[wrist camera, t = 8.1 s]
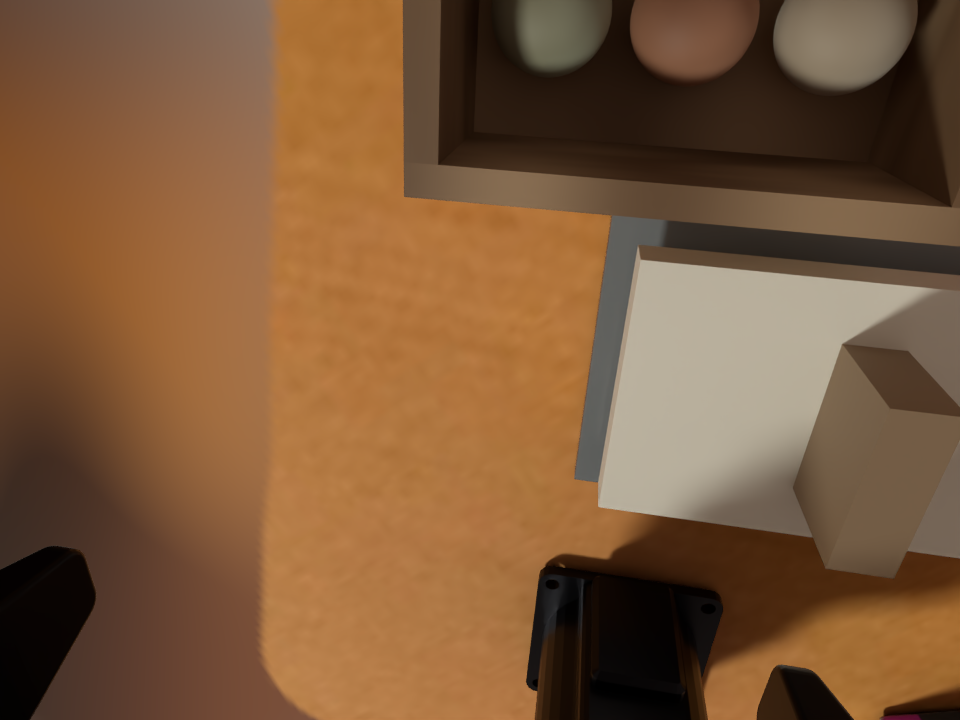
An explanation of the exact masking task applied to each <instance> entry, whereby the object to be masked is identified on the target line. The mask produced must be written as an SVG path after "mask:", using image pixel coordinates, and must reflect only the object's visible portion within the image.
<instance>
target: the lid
mask: <svg viewBox="0 0 960 720" xmlns="http://www.w3.org/2000/svg"><path fill="white" fill-rule="evenodd" d="M598 507H602V508H609V509H616V510H623V511H630V512H637V513H644V514H651V515H658V516H665V517H672V518H679V519H686V520H693V521H700V522H707V523H714V524H721V525H728V526H735V527H742V528H749V529H756V530H763V531H770V532H777V533H784V534H791V535H798V536H805V537H812V538H813V539H814V541H815V544H816V546H817V549H818V551H819V554H820V556H821V559H822V561H823V563H824V566H825V568H826V569H831V570H838V571H845V572H851V573H858V574H865V575H872V576H878V577H885V578H892V579H894V578H895V575H896V573H897V571H898V569H899V567H900V565H901V563H902V561H903V559H904V556H905V554H906V552H907V551H910V552H917V553H924V554H931V555H938V556H945V557H953V558H960V275H950V274H940V273H929V272H919V271H909V270H898V269H888V268H877V267H867V266H856V265H846V264H835V263H825V262H814V261H804V260H794V259H783V258H773V257H762V256H752V255H741V254H731V253H720V252H710V251H699V250H689V249H678V248H668V247H658V246H647V245H638V248H637V254H636V260H635V266H634V272H633V278H632V284H631V290H630V296H629V302H628V308H627V314H626V320H625V326H624V332H623V338H622V344H621V350H620V356H619V362H618V367H617V373H616V379H615V385H614V391H613V397H612V403H611V409H610V415H609V421H608V427H607V433H606V439H605V445H604V451H603V457H602V463H601V469H600V475H599V481H598Z"/></svg>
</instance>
